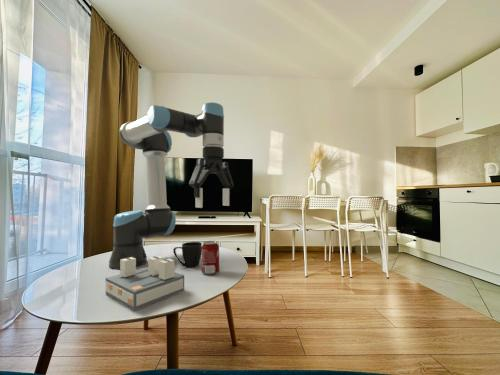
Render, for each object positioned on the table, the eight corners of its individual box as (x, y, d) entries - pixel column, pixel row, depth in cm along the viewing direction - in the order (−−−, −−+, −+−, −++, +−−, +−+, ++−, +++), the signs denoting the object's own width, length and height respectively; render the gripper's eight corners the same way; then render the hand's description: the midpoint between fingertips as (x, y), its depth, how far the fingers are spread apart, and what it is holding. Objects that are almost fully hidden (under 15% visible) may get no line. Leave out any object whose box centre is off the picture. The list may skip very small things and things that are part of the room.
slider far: (120, 275, 76) (120, 258, 76) (131, 272, 78) (131, 256, 79) (124, 277, 74) (124, 260, 74) (135, 274, 77) (135, 257, 77)
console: (104, 294, 74) (104, 277, 74) (153, 279, 87) (153, 265, 87) (133, 311, 63) (133, 292, 63) (184, 291, 76) (184, 274, 76)
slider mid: (148, 273, 77) (148, 257, 77) (158, 271, 80) (158, 255, 80) (153, 275, 75) (153, 259, 75) (163, 272, 78) (163, 256, 78)
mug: (170, 266, 102) (170, 244, 102) (197, 262, 109) (197, 241, 109) (176, 271, 95) (176, 247, 95) (204, 266, 102) (204, 244, 102)
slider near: (158, 277, 73) (158, 260, 73) (168, 274, 76) (168, 258, 76) (164, 279, 71) (164, 262, 71) (174, 276, 74) (174, 259, 74)
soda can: (215, 276, 89) (215, 244, 90) (198, 275, 91) (198, 243, 91) (221, 270, 96) (221, 240, 96) (205, 269, 97) (205, 240, 98)
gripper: (193, 140, 74) (193, 209, 73) (242, 151, 94) (242, 205, 94) (177, 143, 78) (177, 208, 78) (228, 152, 98) (228, 204, 98)
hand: (213, 206), depth 86 cm, fingers open, 13 cm apart
